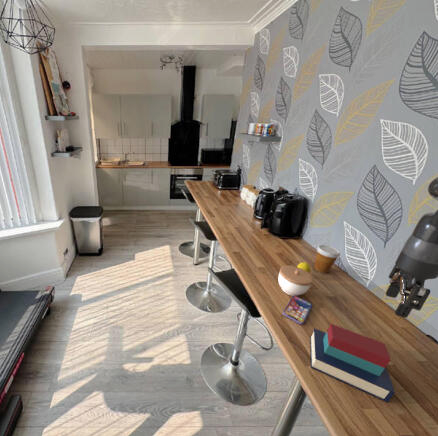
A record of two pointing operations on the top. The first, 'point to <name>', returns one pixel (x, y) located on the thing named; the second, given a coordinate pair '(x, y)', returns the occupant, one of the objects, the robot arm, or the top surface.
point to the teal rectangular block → (351, 358)
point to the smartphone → (297, 309)
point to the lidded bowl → (294, 280)
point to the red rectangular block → (358, 345)
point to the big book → (349, 371)
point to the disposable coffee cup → (325, 258)
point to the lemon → (304, 266)
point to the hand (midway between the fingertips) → (394, 305)
